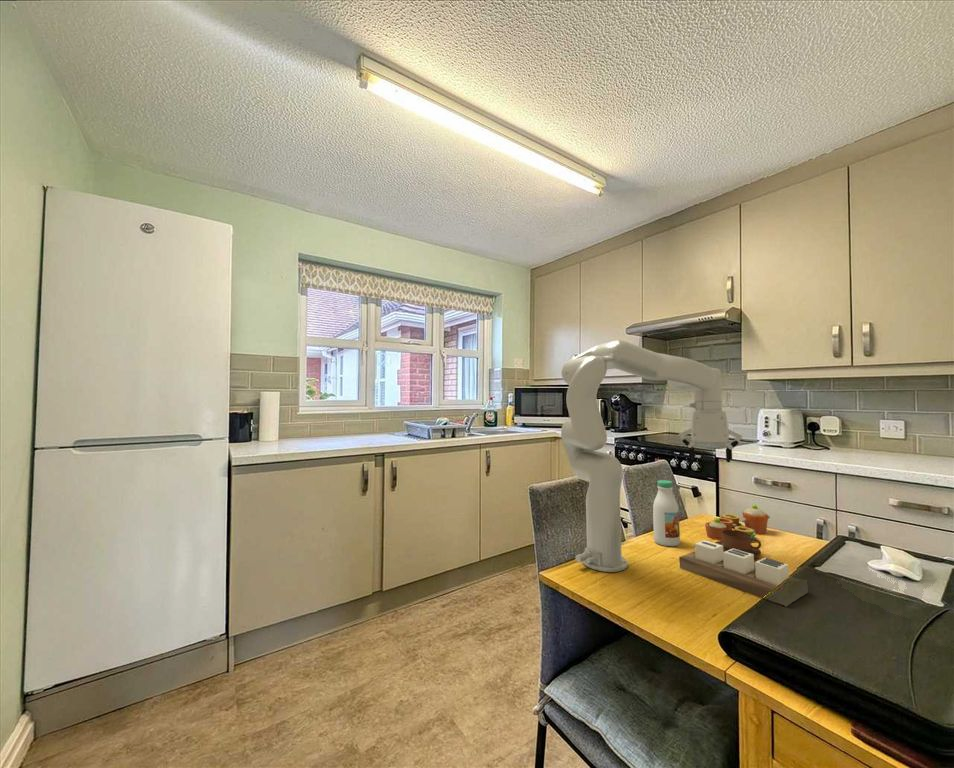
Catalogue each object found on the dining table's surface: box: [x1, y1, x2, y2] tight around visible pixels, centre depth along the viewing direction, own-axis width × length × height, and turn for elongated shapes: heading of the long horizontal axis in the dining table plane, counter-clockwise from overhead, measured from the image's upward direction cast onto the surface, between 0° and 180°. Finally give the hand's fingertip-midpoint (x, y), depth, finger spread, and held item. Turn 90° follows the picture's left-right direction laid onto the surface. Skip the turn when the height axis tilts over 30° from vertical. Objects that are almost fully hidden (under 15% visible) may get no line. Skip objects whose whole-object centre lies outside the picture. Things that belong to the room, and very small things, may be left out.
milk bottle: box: [652, 479, 681, 547], centre depth 130 cm, size 8×8×20 cm
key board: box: [678, 550, 791, 599], centre depth 103 cm, size 12×25×3 cm, turn 32°
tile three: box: [754, 557, 790, 585], centre depth 96 cm, size 5×5×4 cm
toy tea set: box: [704, 504, 771, 543], centre depth 138 cm, size 26×16×10 cm, turn 131°
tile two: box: [723, 549, 755, 575], centre depth 103 cm, size 5×5×4 cm
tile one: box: [694, 540, 723, 564], centre depth 109 cm, size 5×5×4 cm
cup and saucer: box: [714, 529, 762, 559], centre depth 120 cm, size 12×12×6 cm
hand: (710, 460), depth 125 cm, fingers open, 9 cm apart
